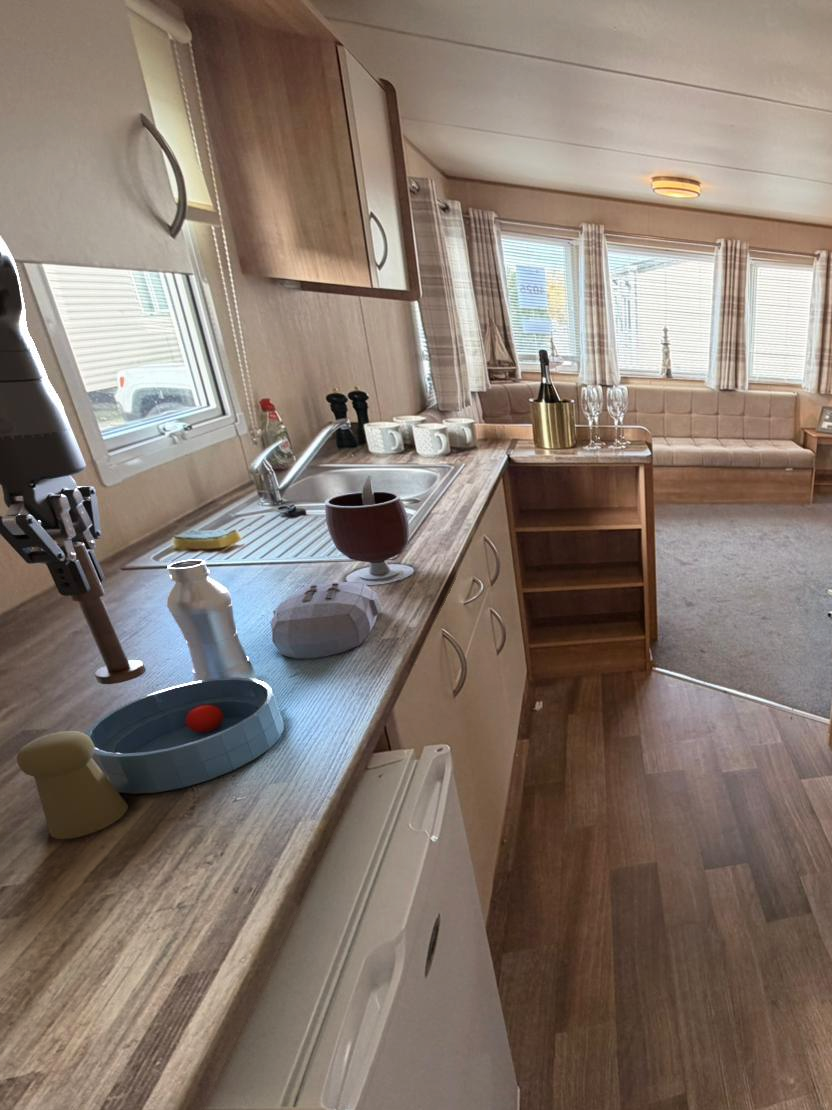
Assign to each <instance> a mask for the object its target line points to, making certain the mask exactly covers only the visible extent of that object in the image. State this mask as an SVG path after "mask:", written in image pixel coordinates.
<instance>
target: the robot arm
mask: <svg viewBox="0 0 832 1110" xmlns="http://www.w3.org/2000/svg"><path fill="white" fill-rule="evenodd" d="M16 265H17V264H16V262H15V259H14V257H13V254H12V252H11V250H10V247H9V246H8V244H7V242H6V241H5V239H4V237H3V236H2V234H1V233H0V486H1V490H2V494H3V501H4V504H5V506H6V507H7V508H8V509H7V511H6V513H5V514H4V515H0V536H1V537H2V538H3V539H4V540H5V541H6V542H7V543H8V544H9V545H10V547H12V549H13V550H14V551H15V552H16V553H17V554H18V555H19V556H20V558H22V559H23V560H24V562H25V563H27V564H28V565H29V564H30V565H31V564H41V565H43V564H44V565H46V567H47V569H48V571H49V574H50V576H51V578H52V580H53V583H54V585H55V587H56V589H57V591H58V593H59V594H60V595H61V596H64V597H70V596H71V595H82V594H85V593H87V592H88V591H90V586H89V584H88V581H87V579H86V577H85V574H84V572H83V570H82V567H81V565H80V562H79V560H76V553H75V550H74V547H73V544H72V542H83V543H84V544H85V547H86V549H87V551H88V554H89V556H90V559H91V561H92V563H93V566H94V568H95V571H96V573H97V575H98V578H99V580H100V583H101V584H102V582H104V581H105V575H104V572H103V570H102V567H101V565H100V562H99V559H98V558H97V555H96V553H95V551H94V550H95V549H96V548H97V543H96V540H100V539H102V536H103V533H102V526H101V519H100V510H99V504H98V496H97V490H96V489H95V487H94V486H92V485H87V486H86V485H85V486H78V484H77V482H76V481H75V479H74V478H73V477H72V476H73V475H77V474H79V473H83V472H84V471H85V470H86V468H87V463H86V461H85V459H84V456H83V454H82V451H81V449H80V446H79V444H78V442H77V438H76V437H75V433H74V431H73V429H72V426H71V424H70V421H69V418H68V416H67V413H66V411H65V408H64V406H63V404H62V402H61V399H60V398H59V396H58V393H56V391H55V389H54V387H53V386H52V384H51V382H50V380H49V378H48V375H47V373H46V370H45V368H44V365H43V363H42V360H41V358H40V355H39V353H38V351H37V348H36V346H35V343H34V341H33V339H32V337H31V336H30V333H29V331H28V330H29V329H28V327H27V321H26V318H27V317H26V308H25V302H24V297H23V292H22V286H21V281H20V277H19V272H18V269H17V266H16ZM57 544H59V546H60V548H59V547H58V545H57Z"/></svg>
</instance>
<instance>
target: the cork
mask: <svg viewBox="0 0 832 1110" xmlns="http://www.w3.org/2000/svg"><path fill="white" fill-rule="evenodd" d="M94 751H95V749H94V744H93V742H92V740H91V739H90V737H88V736H87V735H86V734H85V732H81V731H78V730H63V731H57V732H52V733H48V734H46V735H45V734H44V735H41V736H40V737H37V738H35V739H33V740H31V741H30V742H28V743H26V744H25V745H24V746H22V747H21V748H20V750H19V751H18V754H17V756H16V763H17V765H18V767H19V769H20V770H21V771H22V772H23V774H25V775H27V776H30V777H33V778H34V781H35V784H36V788H37V793H38V796H39V800H40V803H41V806H42V810H43V813H44V817H45V821H46V825H47V829H48V832H49V835H50V836H51V837H52V838H54V839H57V840H69V839H75V838H80V837H84V836H86V835H87V836H88V835H91V834H93V833H95V832H98V831H100V830H103V829H104V828H107V827H108V826H110V825H112V824H115V822H116V821H118V820H120V819H122V817H123V816H124V815H125V814H126V813H127V811H128V808H129V805H128V803H127V802H126V801H125V799H124V798H123V797H122V796H121V794H120V792H117V790H116V789H115V788H114V786H113V785H112V784H111V782H110V781H109V780H108V778H107V777H106V776H105V775H104V773H103V772H102V771H101V769H100V768H99V767H98V765H97V764H96V763H95V761H94V760H93V759H92V756H93V754H94Z"/></svg>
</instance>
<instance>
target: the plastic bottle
mask: <svg viewBox="0 0 832 1110" xmlns="http://www.w3.org/2000/svg"><path fill="white" fill-rule="evenodd" d="M167 569H168V572H169V574H170V575H169V577H170V579H171V581H173V582H175V583H174V585H173V587H172V588H171V590H170V592H169V594H168V596H167V601H166V602H167V603H166V607H167V609H168V611H169V613H170V614H171V616H172V618H173V619H174V621H175V623H176V624H177V626H178V628H179V630H180V631H181V634H182V636H183V638H184V640H185V643H186V646H187V648H188V652H189V656H190V660H191V664H192V675H193V676H192V677H193V682H196V681H203V680H210V679H217V678H236V677H239V678H250V679H256V678H257V677H256V668H255V666H254V664H253V663H252V660H251V659H250V657H249V656H248V655H247V653H246V651H245V648H244V646H243V644H242V641H241V640H240V637H239V634H238V630H237V625H236V622H235V621H236V620H235V615H234V606H233V597H232V594H231V593H230V591H229V590H228V588H226V587H225V586H224V585H223V584H221V583H219V582H218V581H216V580H214V579H212V578H211V577H209V576H211V572H210V570H209V569H208V566H207V563H206V561H205V560H203V559H185V560H181V561H177V562H173V563H170V564H169V565H167ZM256 680H257V679H256Z"/></svg>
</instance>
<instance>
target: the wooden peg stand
mask: <svg viewBox="0 0 832 1110" xmlns="http://www.w3.org/2000/svg"><path fill="white" fill-rule="evenodd" d="M56 544H57V545H58V547H59V548H60V546H59V544H58V543H56ZM72 544H73V547H74V550H75V553H76V560H79V562H80V565H81V567H82V570H83V572H84V574H85V577H86V579H87V581H88V584H89V586H90V591H88V592H87V593H85V594H82V595H71V596H69V599H70V600H71V601H72V602H77V603H78V606H79V608H80V610H81V613H82V615H83V617H84V619H85V622H86V624H87V626H88V629H89V631H90V633H91V635H92V637H93V640H94V643H95V644H96V646H97V649H98V651H99V654H100V656H101V658H102V660H103V663H104V666H102V667H100V668H98V669H97V670H96V671H95V672H94V677H95V679H96V682H97V683H98V684H100V685H114V684H120V683H125V682H128V681H132V680H134V679H136V678H139V677H141V676H142V675H144V674H145V673H146V671H147V669H146V666H145V663H144V662H143V660H138V659H129V660H128V657H127V655H126V652H125V650H124V647H123V646H122V644H121V641H120V638H119V636H118V634H117V631H116V629H115V627H114V624H113V622H112V620H111V617H110V615H109V613H108V609H107V608H106V604H105V603H104V601H103V599H102V597H103V596H105V595H106V591H105V590H104V586H103V585H102V582H101V583H100V580H99V578H98V575H97V573H96V571H95V568H94V566H93V563H92V561H91V559H90V556H89V554H88V551H87V549H86V547H85V544H84V543H83V542H72Z"/></svg>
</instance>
